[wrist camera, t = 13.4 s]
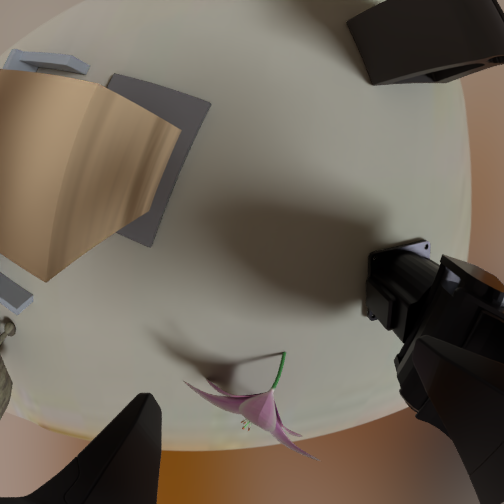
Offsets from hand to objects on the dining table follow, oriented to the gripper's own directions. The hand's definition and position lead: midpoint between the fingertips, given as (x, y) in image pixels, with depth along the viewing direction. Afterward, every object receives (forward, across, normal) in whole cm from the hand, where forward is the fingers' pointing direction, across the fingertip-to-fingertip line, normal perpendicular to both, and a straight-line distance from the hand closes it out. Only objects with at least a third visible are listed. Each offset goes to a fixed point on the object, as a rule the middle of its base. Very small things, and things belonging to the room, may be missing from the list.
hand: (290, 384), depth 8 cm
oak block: (+12, +8, -9) cm, 17 cm away
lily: (+13, +2, +12) cm, 18 cm away
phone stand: (+13, -15, -15) cm, 25 cm away
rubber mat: (+13, +8, -9) cm, 17 cm away
